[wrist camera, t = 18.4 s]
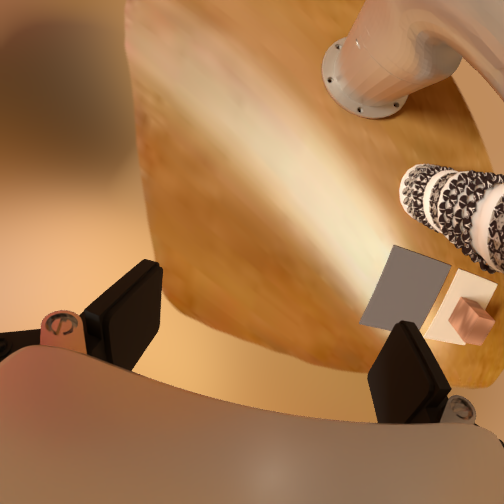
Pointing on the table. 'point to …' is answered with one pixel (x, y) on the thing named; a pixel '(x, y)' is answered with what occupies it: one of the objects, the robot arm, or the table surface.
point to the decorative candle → (459, 209)
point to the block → (471, 321)
